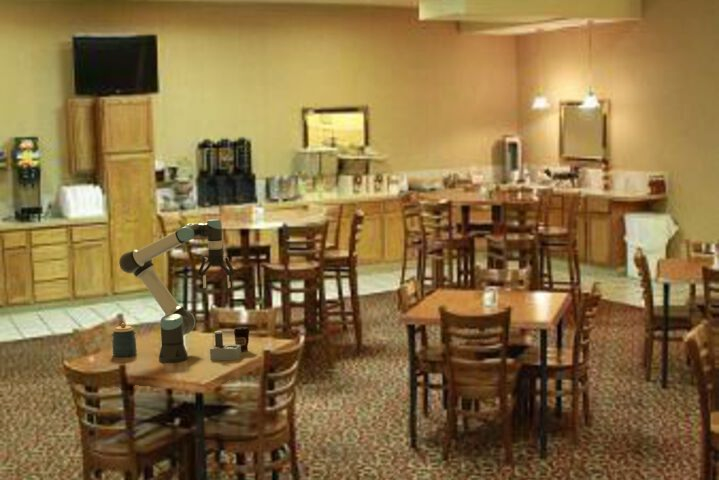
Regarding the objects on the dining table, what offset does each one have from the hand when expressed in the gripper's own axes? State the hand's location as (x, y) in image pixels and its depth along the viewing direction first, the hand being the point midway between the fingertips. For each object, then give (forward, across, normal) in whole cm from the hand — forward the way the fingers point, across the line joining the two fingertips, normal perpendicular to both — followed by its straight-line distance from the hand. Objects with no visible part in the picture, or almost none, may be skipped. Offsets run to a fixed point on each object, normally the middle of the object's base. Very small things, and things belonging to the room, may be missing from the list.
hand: (217, 287), depth 541 cm
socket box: (+37, +6, -7) cm, 38 cm away
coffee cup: (+37, +10, +9) cm, 39 cm away
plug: (+35, +2, -7) cm, 35 cm away
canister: (+37, -53, -3) cm, 65 cm away
